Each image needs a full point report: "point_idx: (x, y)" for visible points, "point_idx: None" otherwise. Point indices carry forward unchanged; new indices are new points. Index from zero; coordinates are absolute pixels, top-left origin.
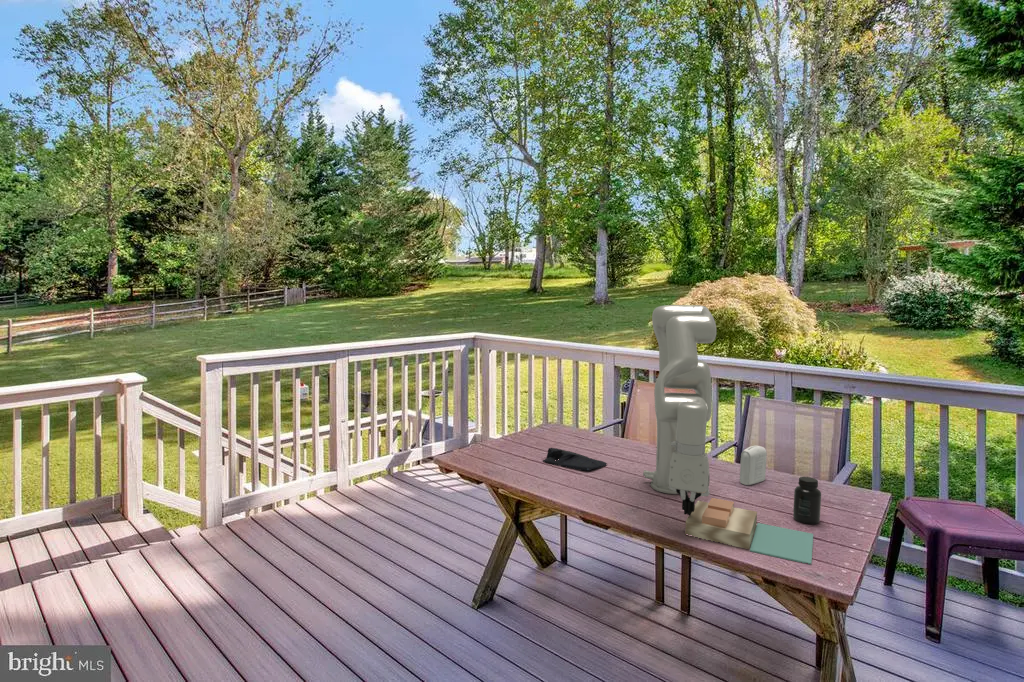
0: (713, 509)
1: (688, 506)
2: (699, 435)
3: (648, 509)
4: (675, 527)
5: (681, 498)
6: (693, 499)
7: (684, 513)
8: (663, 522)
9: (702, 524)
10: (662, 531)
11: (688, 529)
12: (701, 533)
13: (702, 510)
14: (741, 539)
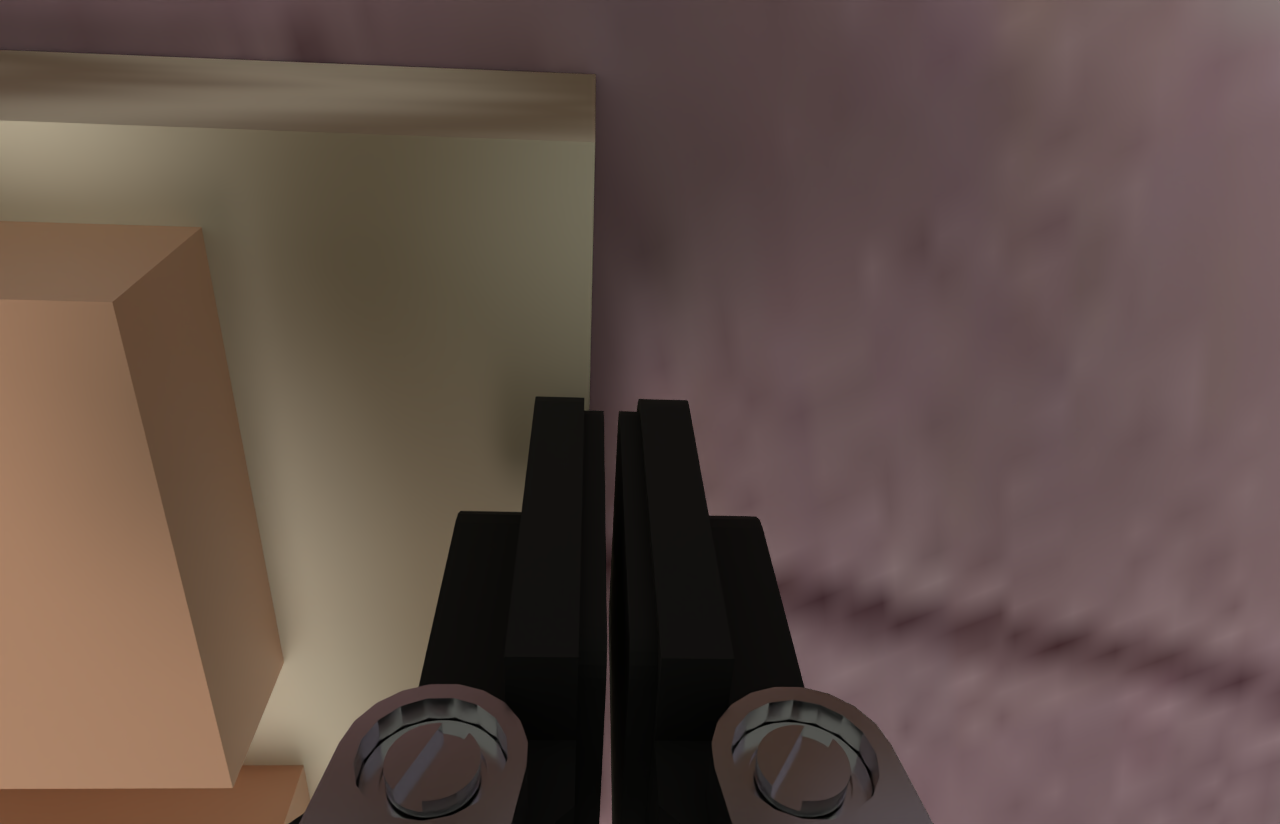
0: (56, 770)
1: (572, 530)
2: None
3: (1221, 706)
4: (806, 327)
5: (861, 723)
6: (383, 777)
7: (674, 402)
8: (1010, 418)
9: (146, 130)
10: (1025, 51)
11: (526, 95)
12: (246, 79)
13: None
14: None
